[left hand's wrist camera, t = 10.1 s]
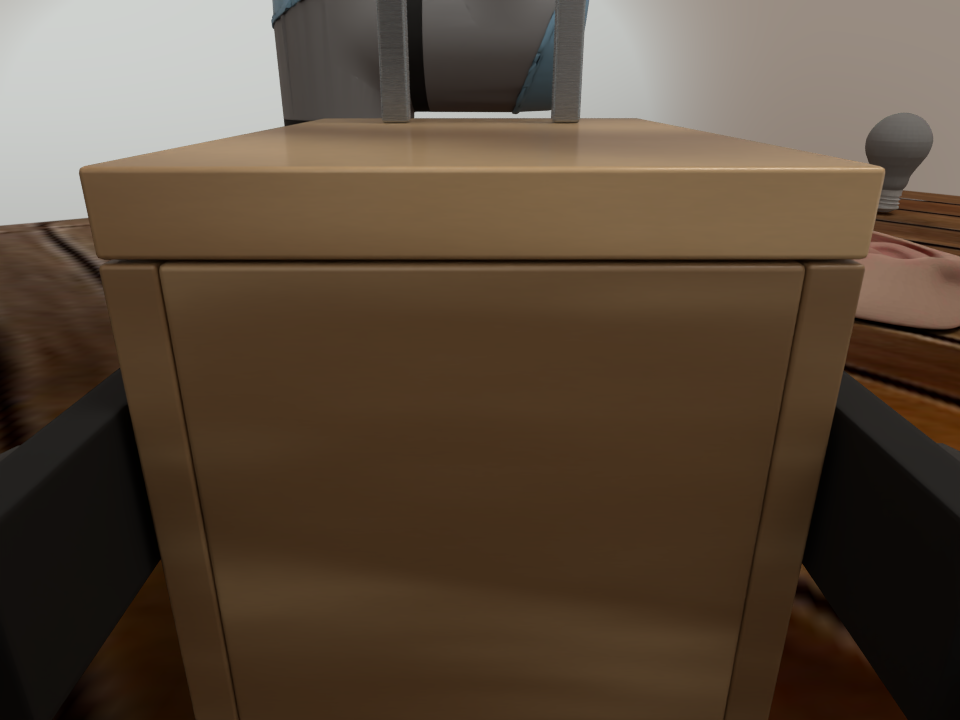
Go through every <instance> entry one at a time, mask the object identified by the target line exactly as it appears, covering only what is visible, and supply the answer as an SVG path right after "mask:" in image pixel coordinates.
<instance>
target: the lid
mask: <svg viewBox="0 0 960 720" xmlns="http://www.w3.org/2000/svg"><path fill="white" fill-rule="evenodd" d="M585 7H586V0H556V1H555V28H554V55H553V83H552V110H551V118H411V112H410V84H409V56H408V28H407V1H406V0H376V8H377V28H378V47H379V67H380V87H381V107H382V118H325V119H320V120H314V121H309V122H304V123H299V124H294V125H289V126H284V127H280V128H274V129H269V130H264V131H259V132H254V133H249V134H244V135H239V136H234V137H229V138H224V139H219V140H214V141H209V142H204V143H199V144H194V145H189V146H184V147H179V148H174V149H168V150H164V151H159V152H154V153H148V154H143V155H138V156H133V157H128V158H123V159H118V160H113V161H108V162H103V163H98V164H93V165H88V166H84V167H82V168H80V171H79V175H80V180H81V185H82V189H83V194H84V199H85V203H86V208H87V213H88V217H89V222H90V227H91V232H92V236H93V241H94V246H95V250H96V255H97V256H98V258H101V259H104V260H860V259H863V258H866V257H867V255H868V251H869V247H870V242H871V238H872V233H873V228H874V224H875V219H876V214H877V210H878V205H879V200H880V196H881V191H882V186H883V182H884V177H885V169H884V168H883V167H881V166H877V165H872V164H867V163H861V162H856V161H851V160H846V159H841V158H836V157H831V156H826V155H821V154H816V153H810V152H805V151H800V150H795V149H790V148H785V147H780V146H775V145H770V144H765V143H759V142H755V141H749V140H744V139H739V138H734V137H729V136H724V135H719V134H714V133H709V132H703V131H698V130H693V129H688V128H683V127H678V126H673V125H668V124H663V123H657V122H652V121H647V120H642V119H637V118H580V104H581V84H582V65H583V45H584V26H585Z"/></svg>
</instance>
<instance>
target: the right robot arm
mask: <svg viewBox="0 0 960 720" xmlns="http://www.w3.org/2000/svg"><path fill="white" fill-rule="evenodd" d="M406 1H407V28H408V56H409V84H410V112H411V118H414V112H512V113H513V114H518V113H519V112H525V111H547V110H552V83H553V55H554V28H555V1H556V0H406ZM588 4H589V0H586V7H585V24H586V18H587V11H588ZM272 27H273V29H274V31H275V41H276V50H277V59H278V69H279V77H280V87H281V96H282V106H283V115H284V124H285V126H289V125H294V124H299V123H304V122H309V121H314V120H320V119H325V118H382V107H381V87H380V67H379V47H378V28H377V8H376V0H273V17H272ZM584 30H585V26H584Z"/></svg>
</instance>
